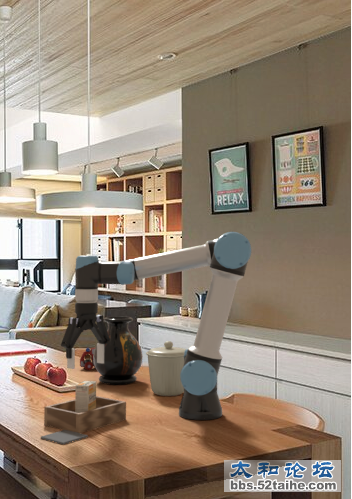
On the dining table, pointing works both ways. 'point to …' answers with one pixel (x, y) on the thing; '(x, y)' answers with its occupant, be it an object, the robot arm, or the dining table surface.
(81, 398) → the supplement box
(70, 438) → the mat
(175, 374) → the canister
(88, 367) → the toy fire truck
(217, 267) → the robot arm
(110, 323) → the black painted vase
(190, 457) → the dining table surface
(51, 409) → the crate
